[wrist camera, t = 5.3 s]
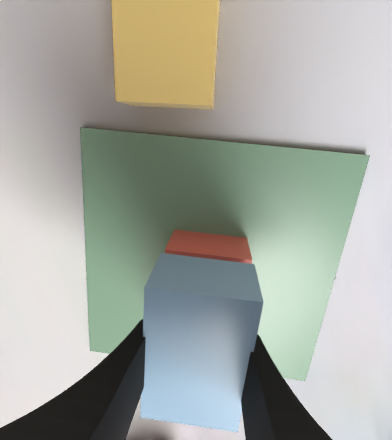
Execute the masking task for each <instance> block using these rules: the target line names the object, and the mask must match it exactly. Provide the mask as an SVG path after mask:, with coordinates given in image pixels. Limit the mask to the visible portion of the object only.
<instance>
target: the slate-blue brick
mask: <svg viewBox="0 0 392 440" xmlns="http://www.w3.org/2000/svg"><path fill="white" fill-rule="evenodd" d="M263 303H264V301H263V297H262V293H261V289H260V285H259V281H258V277H257V272H256V268H255V264H250V263H241V262H233V261H225V260H216V259H208V258H200V257H192V256H183V255H175V254H167V253H160V256H159V258H158V260H157V262H156V264H155V266H154V268H153V270H152V272H151V274H150V276H149V278H148V281H147V283H146V285H145V287H144V315H143V337H146V345H145V374H144V388H143V391H142V394H141V410H140V417H142V418H148V419H155V420H161V421H168V422H174V423H181V424H187V425H194V426H200V427H207V428H213V429H220V430H226V431H233V432H238V428H239V423H240V418H241V413H242V406H241V398H242V393H243V388H244V383H245V378H246V373H247V367H248V362H249V357H250V352H254V348H255V343H256V338H257V333H258V328H259V323H260V318H261V313H262V308H263Z"/></svg>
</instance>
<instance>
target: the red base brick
mask: <svg viewBox="0 0 392 440" xmlns="http://www.w3.org/2000/svg"><path fill="white" fill-rule="evenodd" d="M165 253H167V254H175V255H183V256H192V257H200V258H208V259H216V260H225V261H233V262H241V263H250V264H252V256H251V252H250V248H249V244H248V240H247V238H244V237H235V236H227V235H218V234H209V233H201V232H192V231H183V230H175V229H174V231H173V233H172V235H171V238H170V240H169V242H168V244H167V246H166V248H165Z"/></svg>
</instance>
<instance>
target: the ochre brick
mask: <svg viewBox="0 0 392 440" xmlns="http://www.w3.org/2000/svg"><path fill="white" fill-rule="evenodd" d="M111 3H112V27H113V52H114V76H115V101H117V102H120V103H124V104H128V105H132V106H146V107H167V108H189V109H211V110H213V109H214V93H215V78H216V62H217V46H218V30H219V15H220V0H111Z"/></svg>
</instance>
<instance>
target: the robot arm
mask: <svg viewBox="0 0 392 440" xmlns="http://www.w3.org/2000/svg"><path fill="white" fill-rule="evenodd" d="M145 345H146V337H143V319H142V320H140V321H139V322H138V324H137V325H136V326H135V327H134V329H133V330H132V331H131V332H130V333H129V334H128V335H127V337H126V338H125V339H124V340H123V341H122V342H121V343H120V344H119V345H118V346H117V347H116V348H115V349H114V350H113V351H112V352H111V353H110V354H109V355H108V356H107V357H106V358H105V359H104V360H103V361H102V362H101V363H99V364H98V365H97V366H96V367H95V368H94V369H93V370H91V371H90V372H89V373H88V374H87V375H85V376H84V377H83V378H82V379H80V380H79V381H78V382H76V383H75V384H74V385H72V386H71V387H69V388H68V389H67V390H65V391H64V392H62V393H61V394H59V395H58V396H56V397H55V398H53V399H52V400H50V401H48V402H47V403H45V404H44V405H42V406H40V407H39V408H37V409H35V410H34V411H32V412H30V413H28V414H27V415H25V416H23V417H21V418H19V419H17V420H15V421H13V422H11V423H9V424H7V425H5V426H3V427H1V428H0V440H125V439H126V436H127V433H128V430H129V427H130V424H131V421H132V419H133V416H134V413H135V410H136V408H137V405H138V402H139V399H140V397H141V394H142V391H143V388H144V374H145ZM241 406H242V413H243V421H244V429H245V436H246V440H332V439H331V438H330V437H329V436H328V434H327V433H326V432H325V431H324V430H323V429H322V428H321V427H320V426H319V425H318V424H317V422H316V421H315V420H314V419H313V418H312V416H311V415H310V414H309V413H308V411H307V410H306V409H305V408H304V406H303V405H302V404H301V403H300V401H299V400H298V398H297V397H296V396H295V394H294V393H293V392H292V390H291V389H290V387H289V386H288V384H287V383H286V381H285V380H284V378H283V377H282V375H281V373H280V372H279V370H278V369H277V367H276V365H275V364H274V362H273V360H272V358H271V357H270V355H269V353H268V351H267V349H266V347H265V346H264V344H263V342H262V340H261V338H260V336H259V335H258V334H257V338H256V343H255V348H254V352H250V357H249V362H248V367H247V373H246V378H245V383H244V388H243V393H242V398H241Z"/></svg>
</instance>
